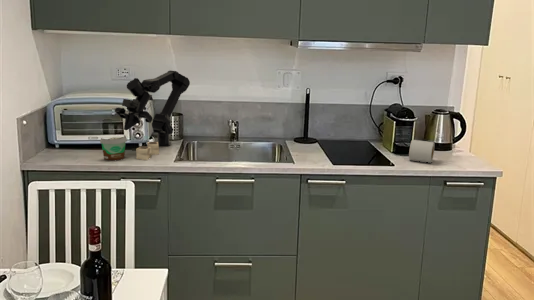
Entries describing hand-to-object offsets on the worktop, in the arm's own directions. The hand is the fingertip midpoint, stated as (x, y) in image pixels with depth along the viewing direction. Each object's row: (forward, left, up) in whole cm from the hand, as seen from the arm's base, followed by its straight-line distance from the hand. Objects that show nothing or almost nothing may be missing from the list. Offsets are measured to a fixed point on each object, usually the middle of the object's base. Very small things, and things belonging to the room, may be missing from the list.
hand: (125, 129), depth 239 cm
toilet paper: (+4, +140, -13) cm, 140 cm away
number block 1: (+3, +9, -13) cm, 16 cm away
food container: (+5, -3, -13) cm, 14 cm away
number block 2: (-6, +12, -13) cm, 18 cm away
